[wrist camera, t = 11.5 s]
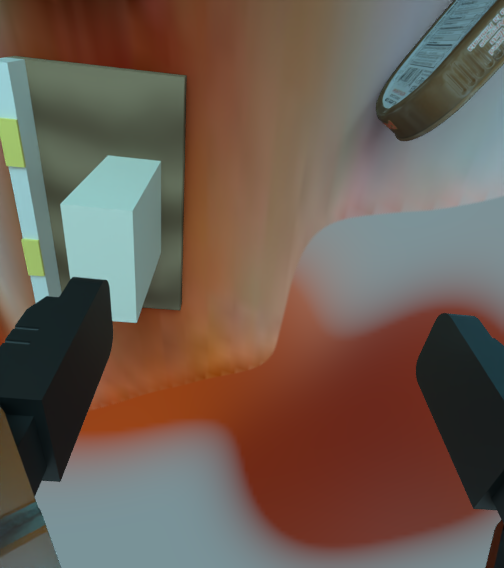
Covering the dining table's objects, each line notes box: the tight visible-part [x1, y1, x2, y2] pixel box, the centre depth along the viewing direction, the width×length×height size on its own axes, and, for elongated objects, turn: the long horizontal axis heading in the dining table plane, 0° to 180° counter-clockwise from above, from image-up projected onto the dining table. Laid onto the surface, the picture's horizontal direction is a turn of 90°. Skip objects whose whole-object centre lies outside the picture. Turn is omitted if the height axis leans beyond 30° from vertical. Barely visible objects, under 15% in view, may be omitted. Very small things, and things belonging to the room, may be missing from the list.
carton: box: [60, 155, 161, 323], centre depth 30 cm, size 4×8×10 cm, turn 173°
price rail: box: [0, 57, 61, 303], centre depth 33 cm, size 20×1×3 cm, turn 174°
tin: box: [376, 0, 504, 141], centre depth 26 cm, size 15×3×8 cm, turn 142°
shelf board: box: [7, 56, 186, 310], centre depth 35 cm, size 20×12×1 cm, turn 174°
